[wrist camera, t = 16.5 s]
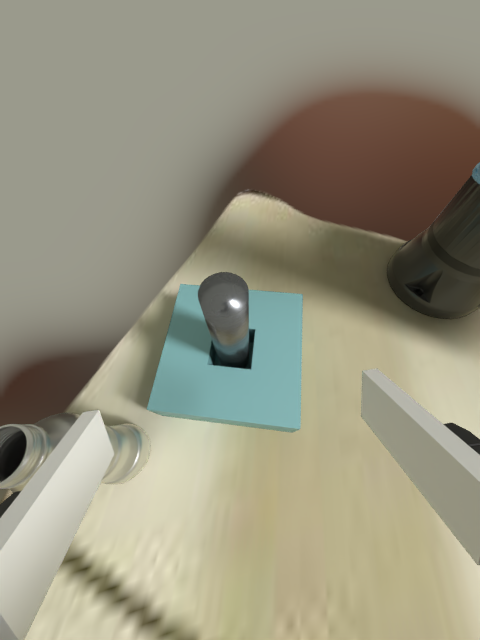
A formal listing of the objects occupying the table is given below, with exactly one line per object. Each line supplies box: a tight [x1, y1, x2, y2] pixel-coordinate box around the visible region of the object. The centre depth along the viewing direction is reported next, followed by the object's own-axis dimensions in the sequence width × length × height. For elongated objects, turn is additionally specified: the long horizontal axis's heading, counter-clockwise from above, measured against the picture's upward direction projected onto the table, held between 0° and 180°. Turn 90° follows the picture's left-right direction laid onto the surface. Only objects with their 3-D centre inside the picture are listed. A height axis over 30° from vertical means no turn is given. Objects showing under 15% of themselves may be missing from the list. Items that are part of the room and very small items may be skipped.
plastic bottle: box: [0, 413, 150, 493], centre depth 25 cm, size 6×7×20 cm
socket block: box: [147, 284, 303, 432], centre depth 37 cm, size 18×18×6 cm
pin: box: [198, 272, 249, 369], centre depth 30 cm, size 4×4×18 cm
